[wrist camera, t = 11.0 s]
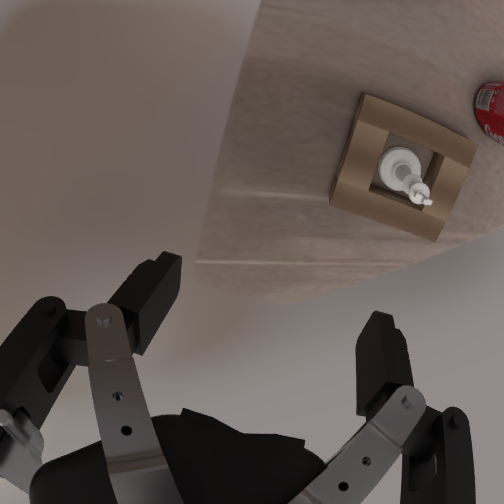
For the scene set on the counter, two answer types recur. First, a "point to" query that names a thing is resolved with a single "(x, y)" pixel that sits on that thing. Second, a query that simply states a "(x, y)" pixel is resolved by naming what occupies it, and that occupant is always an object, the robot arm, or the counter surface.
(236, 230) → the counter surface
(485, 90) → the soda can
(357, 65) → the counter surface
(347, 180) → the frame
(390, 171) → the chess piece
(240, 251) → the counter surface
